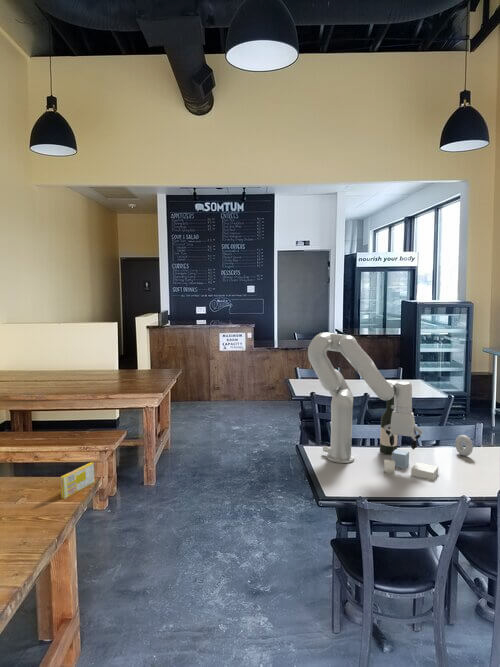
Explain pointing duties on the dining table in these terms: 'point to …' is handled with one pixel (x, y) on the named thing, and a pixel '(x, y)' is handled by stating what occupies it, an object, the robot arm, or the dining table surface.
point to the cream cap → (389, 466)
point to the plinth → (424, 470)
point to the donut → (467, 443)
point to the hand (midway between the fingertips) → (403, 446)
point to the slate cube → (400, 458)
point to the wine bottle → (384, 437)
